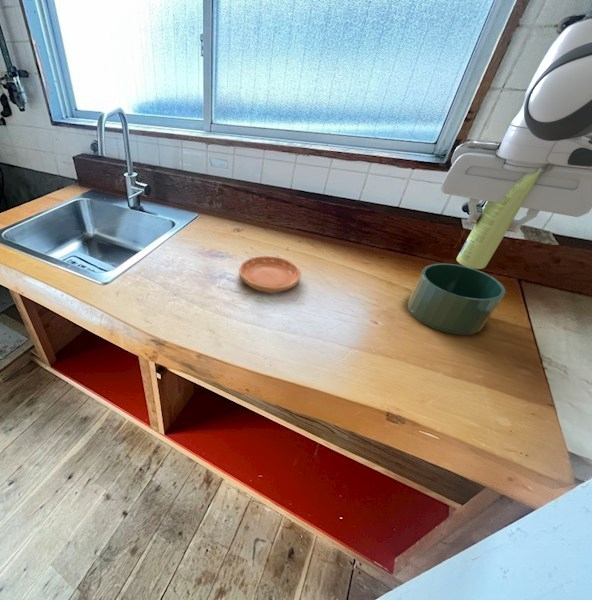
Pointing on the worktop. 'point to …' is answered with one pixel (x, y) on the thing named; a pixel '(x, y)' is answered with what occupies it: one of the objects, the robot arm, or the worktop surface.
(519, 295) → the worktop surface
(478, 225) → the tube
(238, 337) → the worktop surface
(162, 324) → the worktop surface
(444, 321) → the vessel
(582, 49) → the robot arm
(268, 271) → the saucer
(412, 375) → the worktop surface
